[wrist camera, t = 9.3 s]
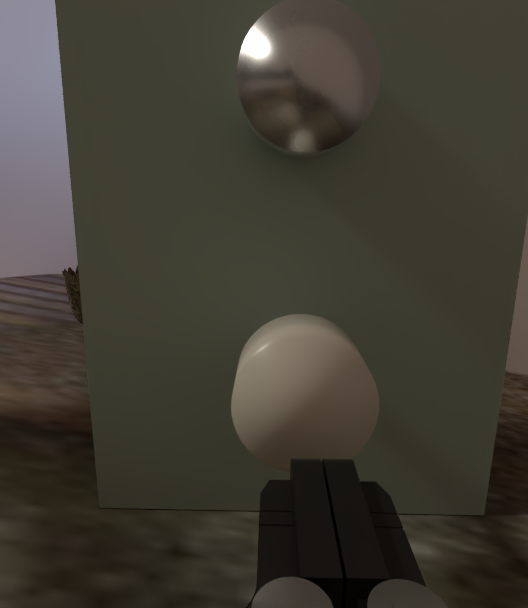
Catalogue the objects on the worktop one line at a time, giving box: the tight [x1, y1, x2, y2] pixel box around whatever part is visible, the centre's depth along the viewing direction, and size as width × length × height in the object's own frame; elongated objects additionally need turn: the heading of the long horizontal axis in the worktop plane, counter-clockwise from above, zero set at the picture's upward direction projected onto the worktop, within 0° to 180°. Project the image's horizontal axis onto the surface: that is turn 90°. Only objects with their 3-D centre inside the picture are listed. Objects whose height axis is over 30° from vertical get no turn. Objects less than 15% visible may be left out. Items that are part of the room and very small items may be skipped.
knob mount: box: [55, 0, 528, 515], centre depth 24 cm, size 8×20×28 cm, turn 89°
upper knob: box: [237, 0, 381, 159], centre depth 19 cm, size 7×5×5 cm
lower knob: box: [231, 314, 379, 472], centre depth 19 cm, size 7×5×5 cm
